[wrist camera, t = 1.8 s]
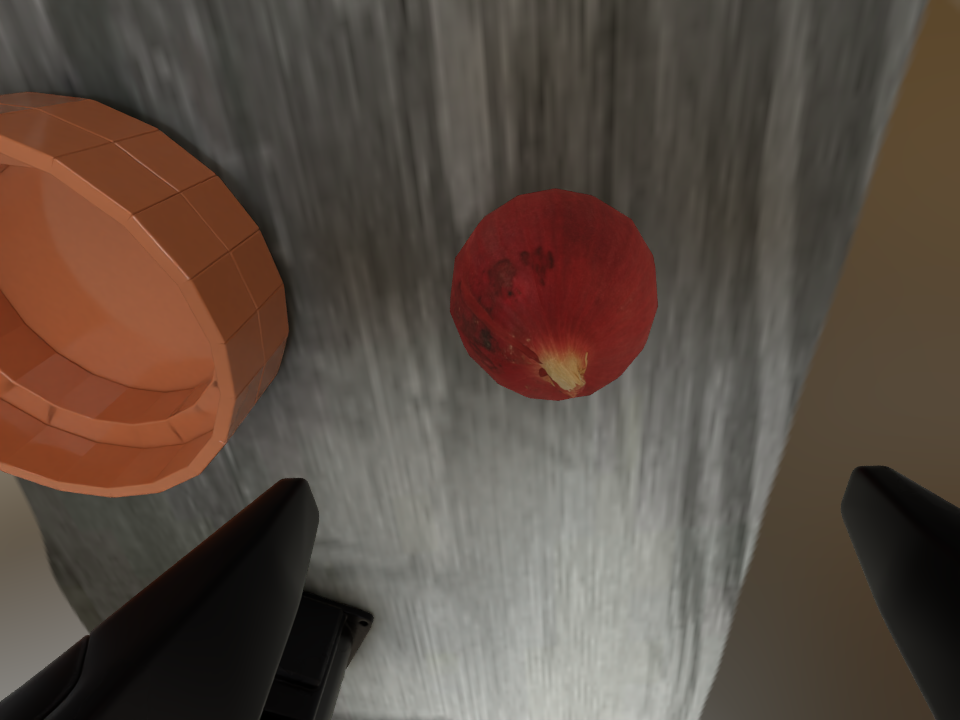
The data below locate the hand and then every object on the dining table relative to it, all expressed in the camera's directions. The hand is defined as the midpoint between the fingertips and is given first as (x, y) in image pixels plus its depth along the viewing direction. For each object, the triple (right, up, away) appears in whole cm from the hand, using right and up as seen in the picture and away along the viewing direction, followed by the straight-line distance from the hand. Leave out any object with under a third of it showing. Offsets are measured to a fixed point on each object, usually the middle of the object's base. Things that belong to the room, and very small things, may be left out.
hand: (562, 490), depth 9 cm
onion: (+1, +6, +10) cm, 12 cm away
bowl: (-15, +5, +12) cm, 20 cm away
